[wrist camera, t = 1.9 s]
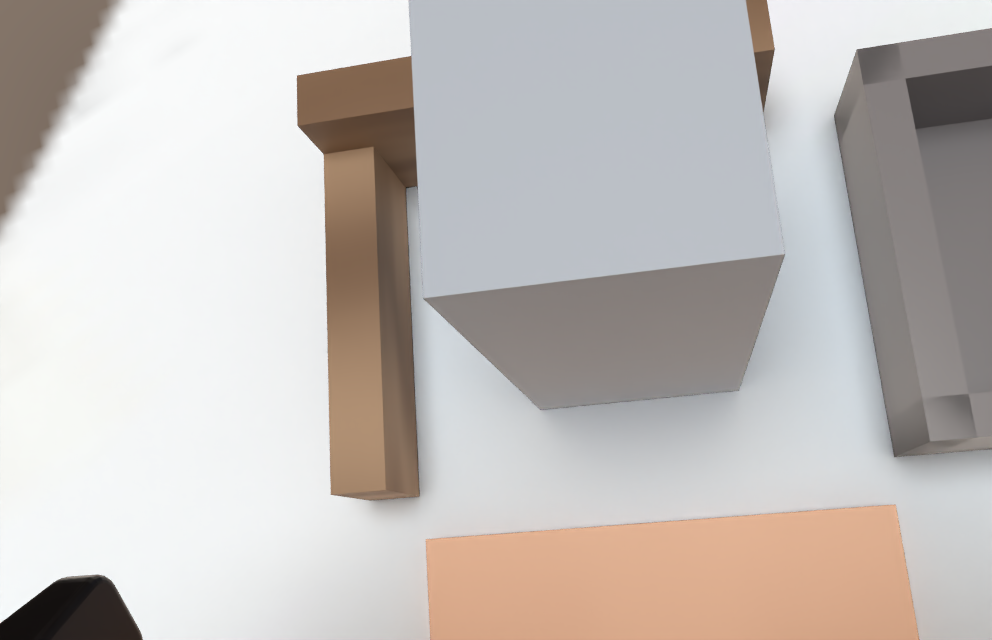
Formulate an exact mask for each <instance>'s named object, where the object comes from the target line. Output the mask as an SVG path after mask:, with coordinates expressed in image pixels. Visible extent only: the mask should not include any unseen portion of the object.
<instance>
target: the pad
mask: <svg viewBox="0 0 992 640" xmlns="http://www.w3.org/2000/svg"><path fill="white" fill-rule="evenodd" d="M426 553H427V575H428V597H429V618H430V640H919V636H918V630H917V624H916V618H915V613H914V607H913V601H912V596H911V590H910V584H909V578H908V573H907V567H906V561H905V556H904V550H903V544H902V538H901V533H900V527H899V521H898V515H897V510H896V505H883V506H869V507H856V508H842V509H829V510H815V511H802V512H789V513H775V514H762V515H748V516H735V517H721V518H708V519H694V520H681V521H667V522H654V523H640V524H627V525H614V526H600V527H587V528H573V529H560V530H546V531H533V532H519V533H506V534H492V535H479V536H465V537H452V538H439V539H426Z"/></svg>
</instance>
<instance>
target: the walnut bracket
mask: <svg viewBox="0 0 992 640" xmlns="http://www.w3.org/2000/svg"><path fill="white" fill-rule="evenodd" d="M746 5H747V12H748V18H749V25H750V31H751V38H752V44H753V51H754V57H755V63H756V70H757V76H758V83H759V89H760V96H761V102H762V109H763V112H764V106H765V101H766V95H767V89H768V84H769V78H770V72H771V67H772V61H773V56H774V50H775V48H774V42H773V36H772V30H771V24H770V18H769V11H768V5H767V0H746ZM297 117H298V127H299V128H300V129H301V130H302V131H303V132H304V133H305V134H306V135H307V136H308V138H309V139H310V140H311V141H312V142H313V143H314V144H315V145H316V146H317V147H318V148H319V149H320V151H321V152H322V153H323V154H324V185H325V233H326V282H327V330H328V379H329V427H330V476H331V495H337V496H343V497H350V498H357V499H364V500H382V499H394V498H406V497H418V496H419V479H418V456H417V434H416V412H415V389H414V367H413V345H412V322H411V300H410V278H409V255H408V233H407V211H406V187H413V186H418V181H417V161H416V140H415V119H414V99H413V78H412V58H411V56H409V57H403V58H398V59H392V60H386V61H380V62H374V63H368V64H362V65H357V66H351V67H345V68H339V69H333V70H327V71H321V72H315V73H310V74H304V75H298V76H297Z"/></svg>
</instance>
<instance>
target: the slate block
mask: <svg viewBox="0 0 992 640" xmlns="http://www.w3.org/2000/svg"><path fill="white" fill-rule="evenodd" d="M409 16H410V37H411V58H412V78H413V99H414V119H415V140H416V161H417V181H418V202H419V222H420V243H421V264H422V284H423V299H424V300H426V301H427V302H428V303H429V304H430V305H431V306H432V307H433V308H434V309H435V310H436V311H437V312H438V313H439V314H440V315H441V316H442V317H443V318H444V319H446V320H447V321H448V322H449V323H450V324H451V325H452V326H453V327H454V328H455V329H456V330H457V331H458V332H459V333H460V334H461V335H462V336H463V337H464V338H466V339H467V340H468V341H469V342H470V343H471V344H472V345H473V346H474V347H475V348H476V349H477V350H478V351H479V352H480V353H481V354H482V355H483V356H485V357H486V358H487V359H488V360H489V361H490V362H491V363H492V364H493V365H494V366H495V367H496V368H497V369H498V370H499V371H500V372H501V373H502V374H503V375H505V376H506V377H507V378H508V379H509V380H510V381H511V382H512V383H513V384H514V385H515V386H516V387H517V388H518V389H519V390H520V391H521V392H522V393H523V394H525V395H526V396H527V397H528V398H529V399H530V400H531V401H532V402H533V403H534V404H535V405H536V406H537V407H538V408H539V409H540V410H544V409H555V408H565V407H575V406H585V405H595V404H606V403H616V402H626V401H636V400H647V399H657V398H667V397H677V396H687V395H698V394H708V393H718V392H728V391H739V389H740V386H741V383H742V380H743V377H744V374H745V371H746V368H747V365H748V362H749V359H750V356H751V354H752V351H753V348H754V345H755V342H756V339H757V336H758V333H759V330H760V327H761V324H762V321H763V318H764V315H765V312H766V309H767V306H768V303H769V300H770V297H771V294H772V291H773V288H774V285H775V282H776V279H777V277H778V274H779V271H780V268H781V265H782V262H783V259H784V256H785V250H784V244H783V237H782V231H781V225H780V218H779V212H778V205H777V199H776V192H775V186H774V179H773V173H772V167H771V160H770V154H769V147H768V141H767V134H766V128H765V121H764V115H763V109H762V102H761V96H760V89H759V83H758V76H757V70H756V63H755V57H754V51H753V44H752V38H751V31H750V25H749V18H748V12H747V5H746V0H409Z"/></svg>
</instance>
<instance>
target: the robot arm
mask: <svg viewBox="0 0 992 640" xmlns="http://www.w3.org/2000/svg"><path fill="white" fill-rule="evenodd" d="M0 640H143V639H142V635H141V632H140V630H139V628H138V626H137V624H136V623H135V621H134V619H133V617H132V616H131V614H130V612H129V610H128V608H127V607H126V605H125V603H124V601H123V599H122V598H121V596H120V594H119V592H118V590H117V589H116V587H115V585H114V584H113V582H112V581H111V580H110V579H108V578H107V577H105V576H102V575H85V576H71V577H65V578H61V579H59V580H57V581H55V582H54V583H52V584H51V585H50V586H48V587H47V588H46V589H45V590H43V591H42V592H41V593H39V594H38V595H37V596H35V597H34V598H33V599H31V600H30V601H29V602H28V603H26V604H25V605H24V606H22V607H21V608H20V609H18V610H17V611H16V612H14V613H13V614H12V615H11V616H9V617H8V618H7V619H5V620H4V621H3V622H1V623H0Z"/></svg>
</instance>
